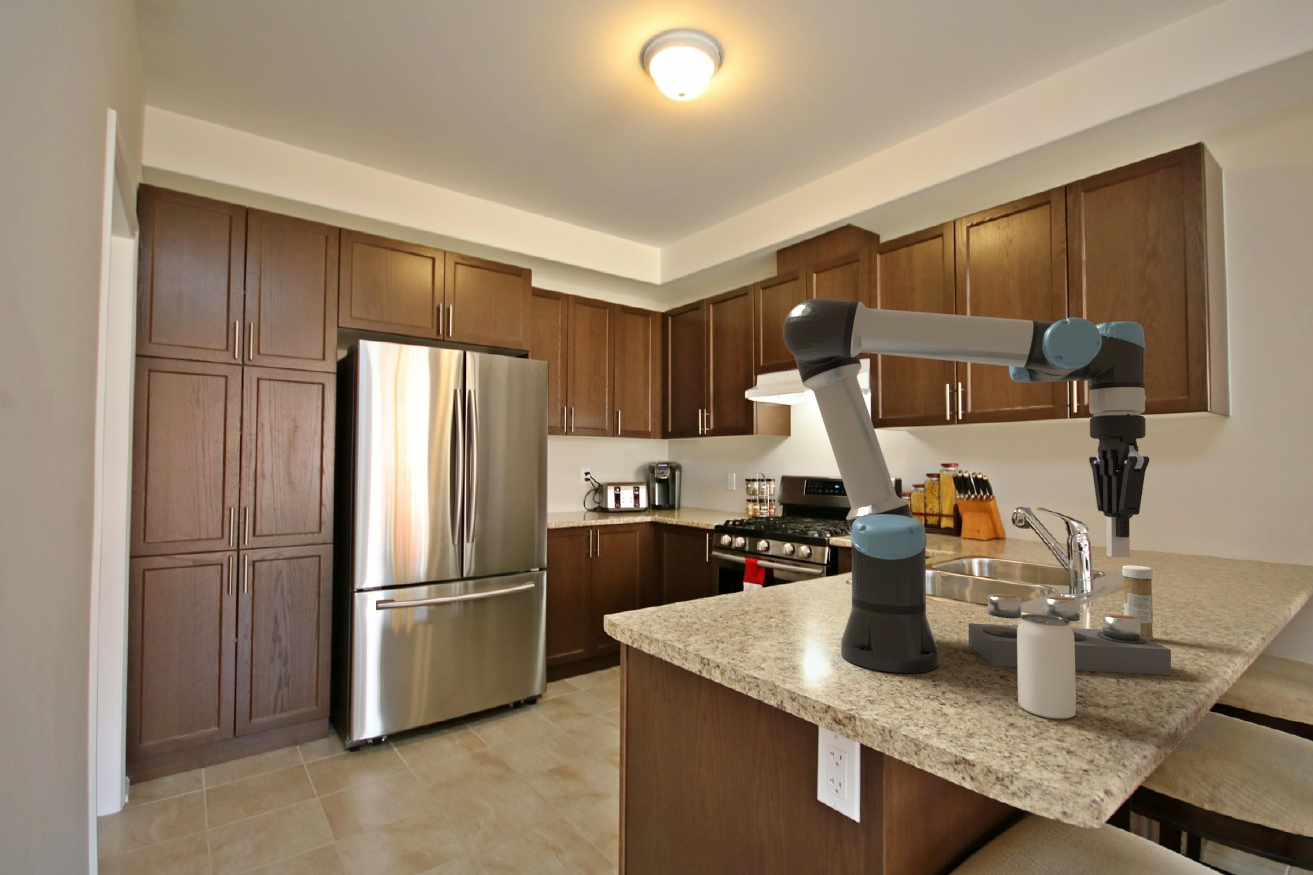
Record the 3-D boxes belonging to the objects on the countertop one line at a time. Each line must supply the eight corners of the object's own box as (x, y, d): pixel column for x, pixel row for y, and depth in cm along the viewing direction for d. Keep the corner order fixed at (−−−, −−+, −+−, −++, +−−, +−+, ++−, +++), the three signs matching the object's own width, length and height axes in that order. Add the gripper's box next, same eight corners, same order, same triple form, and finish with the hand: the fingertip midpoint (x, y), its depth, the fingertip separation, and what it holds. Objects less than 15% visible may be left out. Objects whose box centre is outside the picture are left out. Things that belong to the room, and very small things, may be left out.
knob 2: (1113, 639, 100) (1113, 618, 100) (1096, 630, 105) (1096, 611, 105) (1147, 640, 99) (1147, 620, 100) (1128, 632, 104) (1128, 612, 105)
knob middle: (1053, 620, 102) (1052, 600, 102) (1039, 613, 107) (1038, 593, 107) (1086, 621, 101) (1085, 601, 101) (1070, 614, 106) (1070, 594, 106)
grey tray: (992, 665, 100) (992, 639, 100) (968, 645, 111) (968, 622, 111) (1171, 675, 96) (1170, 648, 96) (1128, 653, 107) (1128, 629, 107)
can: (1077, 724, 77) (1075, 627, 78) (1017, 713, 81) (1015, 620, 81) (1074, 707, 83) (1073, 617, 83) (1018, 697, 86) (1017, 610, 87)
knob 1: (994, 617, 103) (994, 597, 103) (983, 610, 108) (983, 591, 108) (1026, 619, 102) (1026, 598, 102) (1014, 611, 107) (1013, 592, 107)
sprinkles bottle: (1127, 633, 120) (1125, 563, 121) (1156, 638, 117) (1155, 567, 117) (1120, 637, 117) (1118, 566, 118) (1150, 642, 114) (1148, 569, 114)
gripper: (1167, 412, 97) (1169, 563, 96) (1118, 418, 110) (1119, 551, 109) (1115, 411, 98) (1116, 561, 97) (1072, 417, 111) (1073, 550, 110)
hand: (1118, 556), depth 103 cm, fingers closed
